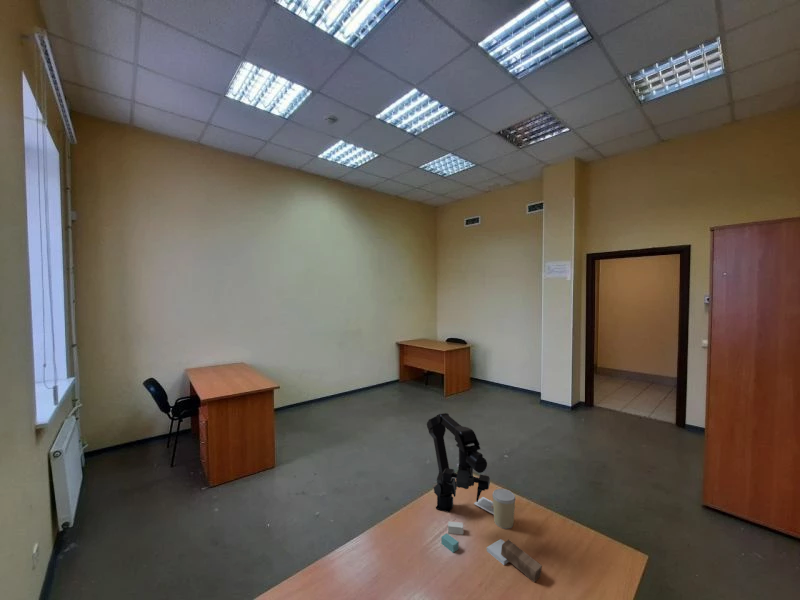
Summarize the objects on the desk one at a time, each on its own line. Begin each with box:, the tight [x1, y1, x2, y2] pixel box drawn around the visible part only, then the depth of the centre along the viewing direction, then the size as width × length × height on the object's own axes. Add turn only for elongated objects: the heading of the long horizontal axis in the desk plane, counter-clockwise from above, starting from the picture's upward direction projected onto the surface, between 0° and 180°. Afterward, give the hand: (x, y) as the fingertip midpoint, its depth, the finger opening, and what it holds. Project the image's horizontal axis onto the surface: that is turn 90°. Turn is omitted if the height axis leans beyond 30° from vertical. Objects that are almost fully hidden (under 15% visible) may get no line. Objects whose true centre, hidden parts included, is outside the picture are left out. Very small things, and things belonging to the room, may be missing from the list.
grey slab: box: [486, 538, 510, 566], centre depth 123 cm, size 8×8×2 cm
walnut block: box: [501, 539, 543, 583], centre depth 116 cm, size 4×4×13 cm
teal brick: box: [440, 532, 460, 554], centre depth 127 cm, size 6×3×3 cm, turn 40°
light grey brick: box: [447, 521, 464, 536], centre depth 135 cm, size 6×3×3 cm, turn 83°
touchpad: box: [473, 496, 494, 515], centre depth 150 cm, size 8×15×2 cm, turn 43°
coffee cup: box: [492, 488, 516, 530], centre depth 140 cm, size 9×9×12 cm
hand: (465, 499), depth 135 cm, fingers open, 9 cm apart
